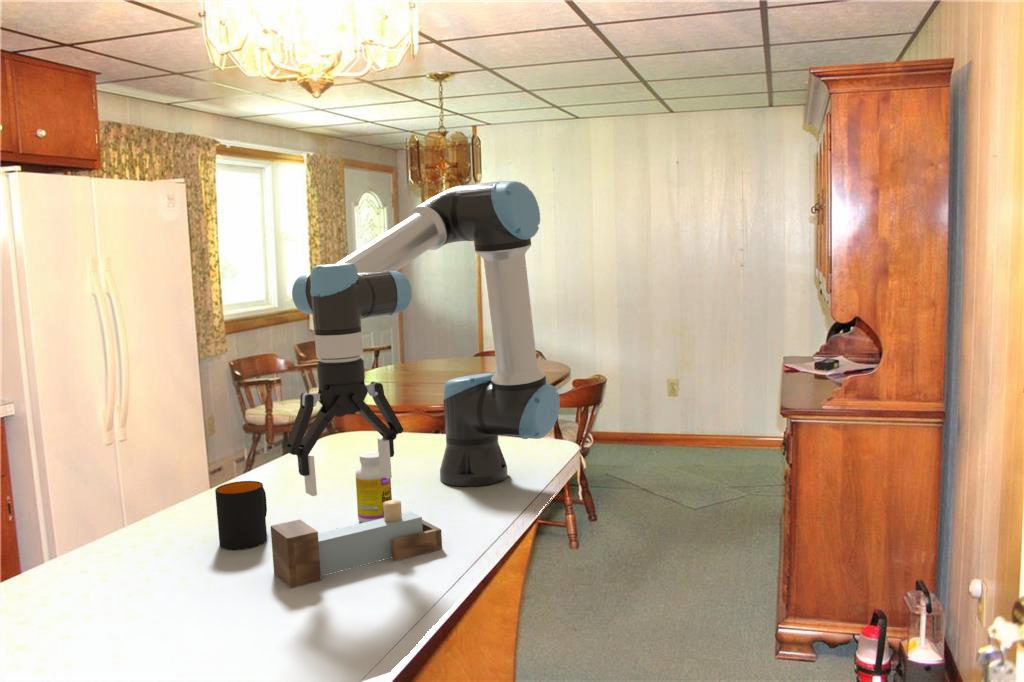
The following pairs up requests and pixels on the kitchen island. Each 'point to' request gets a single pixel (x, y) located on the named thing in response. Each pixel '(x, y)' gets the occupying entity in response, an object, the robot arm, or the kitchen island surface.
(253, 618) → the kitchen island surface
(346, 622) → the kitchen island surface
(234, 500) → the mug
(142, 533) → the kitchen island surface
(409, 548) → the brown wooden u-shaped frame
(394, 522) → the slat
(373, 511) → the supplement bottle
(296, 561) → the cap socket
